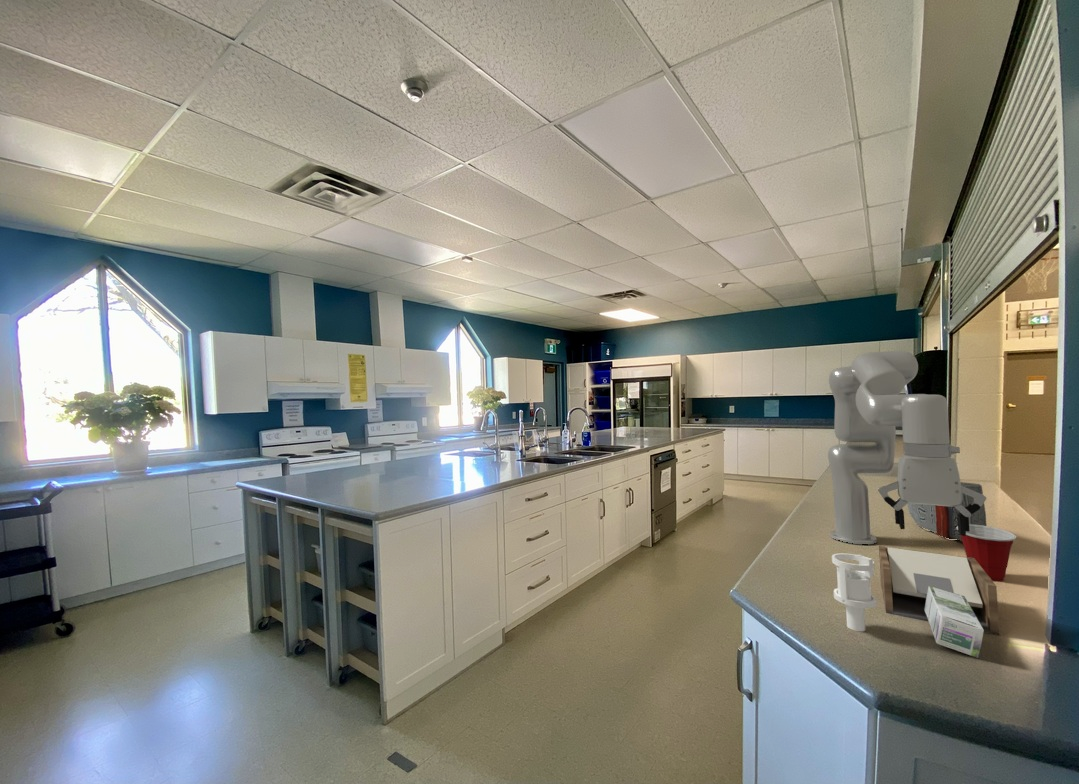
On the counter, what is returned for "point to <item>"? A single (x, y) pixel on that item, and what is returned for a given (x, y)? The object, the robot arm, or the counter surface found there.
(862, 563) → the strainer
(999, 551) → the plastic cup
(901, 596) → the trapdoor frame
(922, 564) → the trapdoor
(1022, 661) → the counter surface
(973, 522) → the decorative stone tablet
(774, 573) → the counter surface
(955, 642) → the syrup box
